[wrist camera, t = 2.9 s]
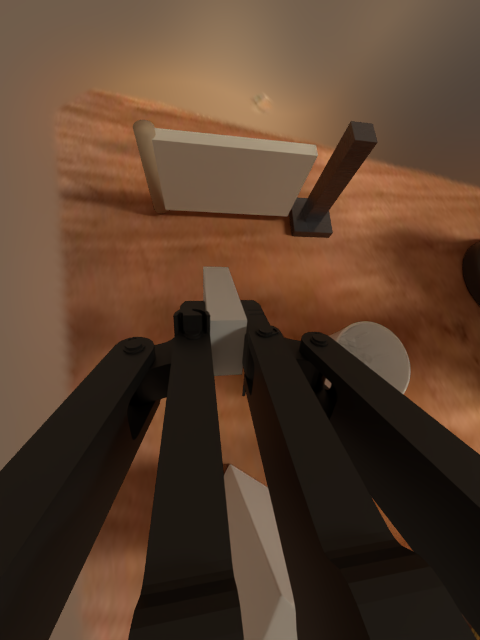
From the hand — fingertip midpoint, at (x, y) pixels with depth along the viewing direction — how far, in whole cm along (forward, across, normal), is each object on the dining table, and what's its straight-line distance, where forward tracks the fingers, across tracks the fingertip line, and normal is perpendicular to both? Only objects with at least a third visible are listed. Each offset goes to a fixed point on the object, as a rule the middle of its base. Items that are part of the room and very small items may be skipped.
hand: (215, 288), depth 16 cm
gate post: (+25, +16, +1) cm, 30 cm away
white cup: (+9, +15, -15) cm, 23 cm away
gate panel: (+24, +3, +2) cm, 24 cm away
